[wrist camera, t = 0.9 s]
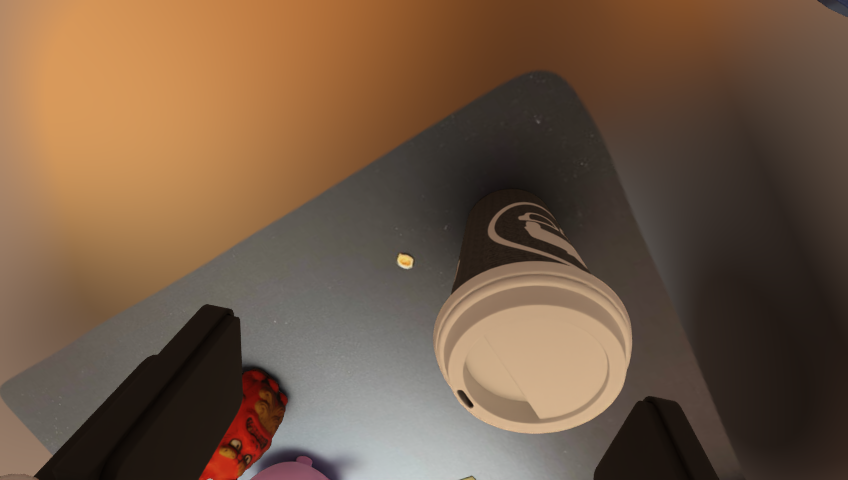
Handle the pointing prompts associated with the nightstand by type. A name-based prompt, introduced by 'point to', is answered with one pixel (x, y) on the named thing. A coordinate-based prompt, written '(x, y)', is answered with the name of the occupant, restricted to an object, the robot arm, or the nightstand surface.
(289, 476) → the teapot
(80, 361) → the nightstand surface
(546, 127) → the nightstand surface
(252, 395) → the red clay folk toy
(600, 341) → the coffee cup
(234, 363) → the robot arm
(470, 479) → the mat
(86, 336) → the nightstand surface
